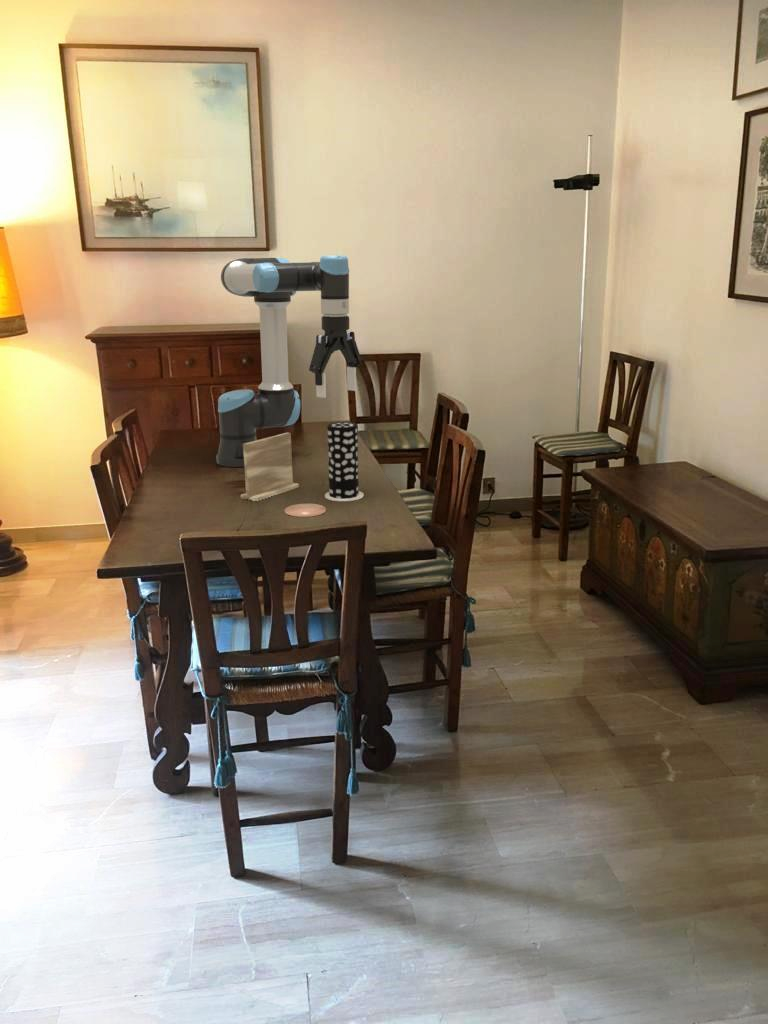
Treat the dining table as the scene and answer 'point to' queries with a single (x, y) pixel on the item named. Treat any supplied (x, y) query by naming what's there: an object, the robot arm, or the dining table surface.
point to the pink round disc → (305, 510)
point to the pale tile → (344, 499)
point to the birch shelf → (268, 467)
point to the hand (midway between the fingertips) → (336, 393)
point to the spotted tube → (343, 460)
